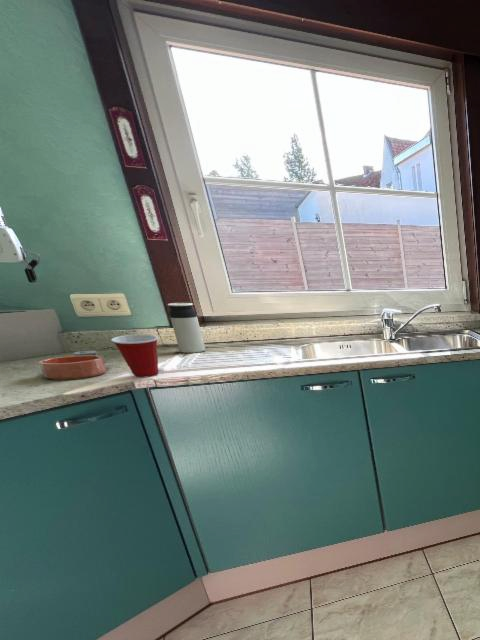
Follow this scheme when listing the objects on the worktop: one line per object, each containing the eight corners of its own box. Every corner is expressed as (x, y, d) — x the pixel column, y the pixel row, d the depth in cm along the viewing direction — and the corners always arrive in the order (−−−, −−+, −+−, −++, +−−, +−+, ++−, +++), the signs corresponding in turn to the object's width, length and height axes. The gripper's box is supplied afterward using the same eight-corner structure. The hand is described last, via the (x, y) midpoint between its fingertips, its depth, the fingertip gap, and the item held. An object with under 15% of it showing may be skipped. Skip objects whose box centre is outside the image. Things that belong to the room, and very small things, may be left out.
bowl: (37, 382, 144) (30, 365, 142) (55, 372, 155) (49, 356, 153) (99, 378, 150) (93, 362, 148) (112, 369, 161) (107, 354, 159)
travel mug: (208, 351, 192) (196, 304, 186) (183, 354, 186) (169, 305, 180) (202, 348, 197) (189, 302, 190) (177, 351, 191) (163, 303, 184)
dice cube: (80, 367, 162) (74, 352, 161) (101, 365, 166) (95, 350, 164) (79, 369, 159) (74, 354, 157) (100, 367, 162) (95, 352, 160)
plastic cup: (126, 381, 148) (112, 341, 144) (121, 374, 155) (108, 336, 150) (171, 375, 156) (160, 337, 151) (165, 370, 162) (154, 333, 158)
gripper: (-63, 220, 140) (-37, 282, 147) (23, 223, 148) (44, 283, 155) (-48, 221, 146) (-23, 281, 153) (33, 224, 154) (54, 281, 161)
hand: (11, 282), depth 154 cm, fingers open, 9 cm apart
